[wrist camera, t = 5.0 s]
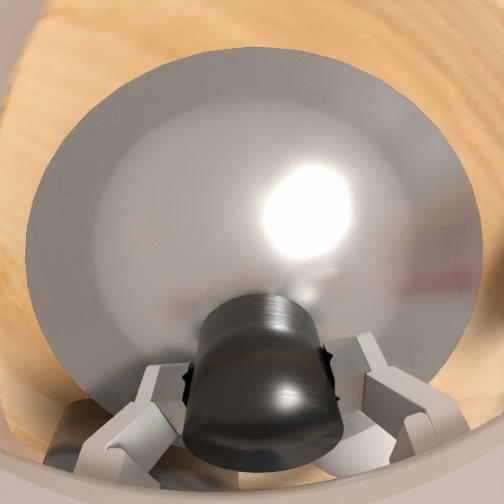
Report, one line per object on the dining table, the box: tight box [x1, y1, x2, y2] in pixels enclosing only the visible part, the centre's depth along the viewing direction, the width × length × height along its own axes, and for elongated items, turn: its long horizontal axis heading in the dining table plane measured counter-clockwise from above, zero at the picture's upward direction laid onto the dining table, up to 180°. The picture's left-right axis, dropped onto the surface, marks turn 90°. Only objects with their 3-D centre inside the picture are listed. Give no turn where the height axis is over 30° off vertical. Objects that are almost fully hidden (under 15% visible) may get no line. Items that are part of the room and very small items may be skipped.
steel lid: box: [25, 47, 483, 473], centre depth 9 cm, size 18×18×7 cm
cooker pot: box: [42, 399, 238, 492], centre depth 17 cm, size 17×23×11 cm
